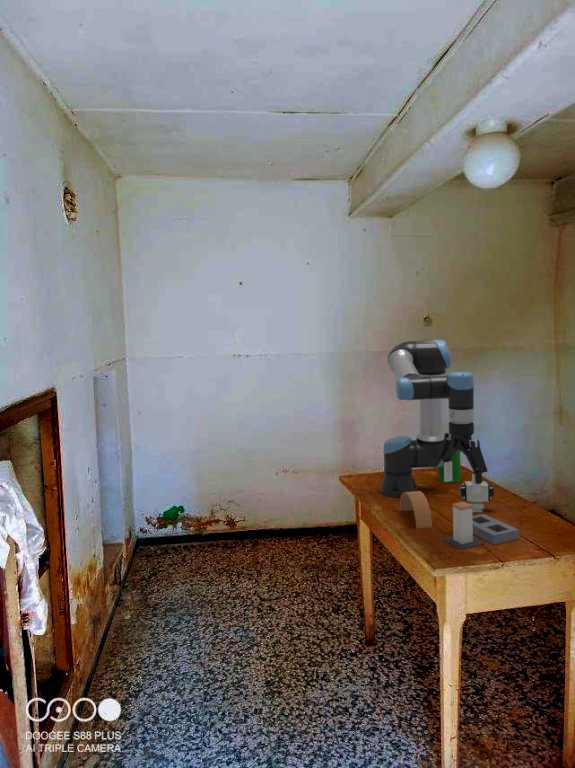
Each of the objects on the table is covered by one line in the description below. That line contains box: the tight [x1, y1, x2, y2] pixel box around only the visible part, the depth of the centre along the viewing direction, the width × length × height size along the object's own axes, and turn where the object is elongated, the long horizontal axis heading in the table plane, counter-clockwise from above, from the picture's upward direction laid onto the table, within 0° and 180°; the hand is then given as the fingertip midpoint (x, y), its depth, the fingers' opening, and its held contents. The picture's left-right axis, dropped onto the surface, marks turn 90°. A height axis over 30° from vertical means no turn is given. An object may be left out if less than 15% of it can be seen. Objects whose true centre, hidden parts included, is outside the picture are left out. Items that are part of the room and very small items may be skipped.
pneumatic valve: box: [458, 480, 495, 514], centre depth 189 cm, size 6×12×12 cm, turn 78°
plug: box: [452, 501, 474, 544], centre depth 161 cm, size 4×4×12 cm
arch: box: [399, 490, 433, 529], centre depth 184 cm, size 6×20×10 cm, turn 4°
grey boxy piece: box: [472, 513, 520, 545], centre depth 168 cm, size 16×10×4 cm, turn 20°
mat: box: [442, 535, 485, 550], centre depth 162 cm, size 9×9×1 cm
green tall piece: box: [437, 450, 462, 484], centre depth 228 cm, size 10×9×20 cm
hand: (461, 487), depth 161 cm, fingers open, 13 cm apart
